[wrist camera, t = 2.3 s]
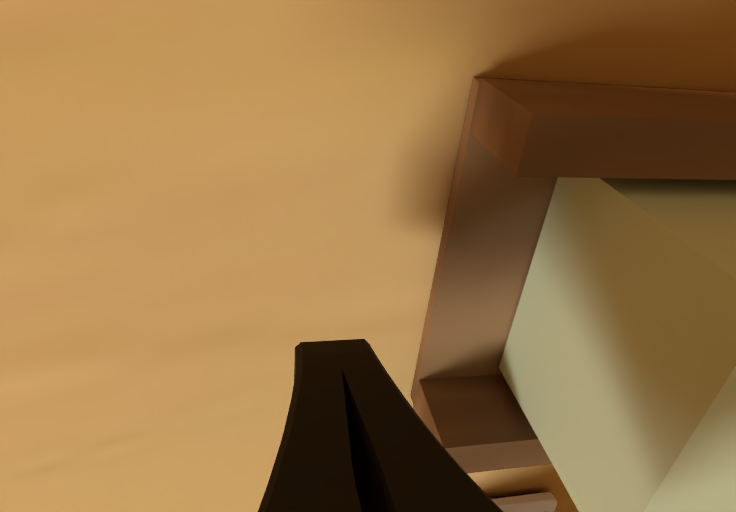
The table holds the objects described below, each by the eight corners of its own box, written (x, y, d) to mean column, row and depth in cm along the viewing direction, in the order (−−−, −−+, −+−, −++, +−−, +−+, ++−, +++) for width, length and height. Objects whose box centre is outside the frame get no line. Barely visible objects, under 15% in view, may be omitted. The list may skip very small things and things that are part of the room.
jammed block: (639, 357, 17) (796, 535, 12) (498, 367, 16) (608, 565, 11) (738, 157, 13) (1021, 294, 9) (565, 152, 12) (773, 306, 7)
